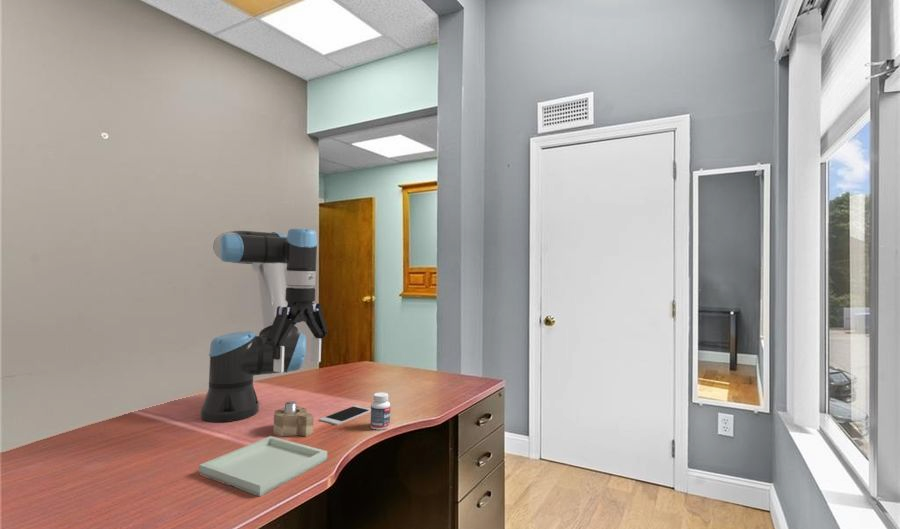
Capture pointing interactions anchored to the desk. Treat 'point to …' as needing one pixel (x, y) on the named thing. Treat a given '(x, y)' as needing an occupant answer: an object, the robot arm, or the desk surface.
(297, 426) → the tan notched block
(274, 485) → the tray
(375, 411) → the pill bottle
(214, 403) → the robot arm
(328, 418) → the smartphone
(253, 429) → the desk surface
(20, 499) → the desk surface
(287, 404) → the grey metal cylinder
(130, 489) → the desk surface
